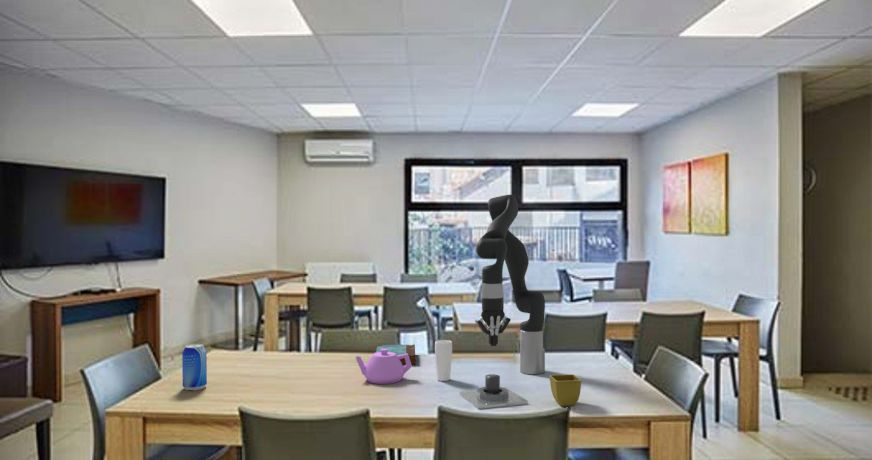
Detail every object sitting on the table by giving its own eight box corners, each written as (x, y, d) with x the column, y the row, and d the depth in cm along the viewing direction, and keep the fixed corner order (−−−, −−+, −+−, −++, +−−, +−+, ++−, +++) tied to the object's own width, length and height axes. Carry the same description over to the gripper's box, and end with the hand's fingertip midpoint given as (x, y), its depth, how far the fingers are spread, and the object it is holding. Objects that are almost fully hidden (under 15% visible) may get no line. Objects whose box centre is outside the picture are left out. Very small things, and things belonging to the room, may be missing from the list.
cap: (496, 393, 214) (496, 373, 214) (502, 397, 209) (502, 377, 209) (483, 394, 212) (483, 375, 212) (488, 398, 208) (488, 378, 208)
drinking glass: (450, 382, 233) (450, 343, 233) (433, 381, 234) (433, 342, 234) (453, 378, 240) (453, 340, 239) (436, 377, 241) (436, 339, 241)
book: (415, 366, 261) (415, 354, 261) (374, 367, 261) (374, 355, 261) (414, 354, 284) (414, 344, 284) (377, 355, 283) (377, 344, 283)
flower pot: (549, 400, 209) (548, 374, 209) (573, 399, 210) (573, 373, 210) (556, 408, 200) (556, 381, 200) (582, 407, 201) (582, 380, 201)
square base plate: (505, 389, 222) (505, 381, 222) (527, 403, 205) (527, 395, 205) (459, 394, 217) (459, 386, 217) (478, 409, 200) (478, 400, 200)
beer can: (211, 386, 230) (211, 344, 229) (196, 392, 222) (195, 348, 222) (193, 384, 232) (193, 342, 232) (177, 390, 224) (177, 347, 224)
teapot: (410, 373, 247) (410, 344, 247) (413, 384, 231) (413, 352, 231) (356, 375, 244) (356, 346, 244) (355, 386, 229) (355, 354, 229)
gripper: (505, 293, 216) (506, 342, 216) (470, 295, 212) (471, 345, 212) (514, 296, 209) (515, 346, 209) (479, 298, 205) (479, 349, 205)
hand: (493, 345), depth 211 cm, fingers closed
